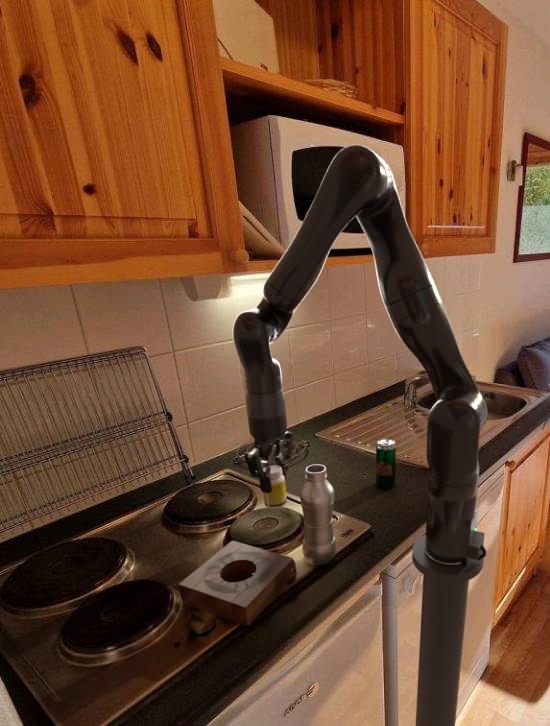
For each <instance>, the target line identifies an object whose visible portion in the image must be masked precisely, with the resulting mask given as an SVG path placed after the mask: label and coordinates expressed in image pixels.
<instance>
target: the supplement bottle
mask: <svg viewBox="0 0 550 726" xmlns="http://www.w3.org/2000/svg"><path fill="white" fill-rule="evenodd" d="M263 471H265V467H263ZM282 473H283V472H282V468H281V467H280V466H278V465H276V464H273V466H271V470H270V477H271V487H272V491H271V492H270V493H265V492H262V493H263V502H264V503H263V504H264V506H265V507H266V508H267V509H270V510H278V509H281V508H283V507H285V506H286V505H287V503H288V498H287V489H286V481H285V478H284V476H283V475H282Z"/></svg>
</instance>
